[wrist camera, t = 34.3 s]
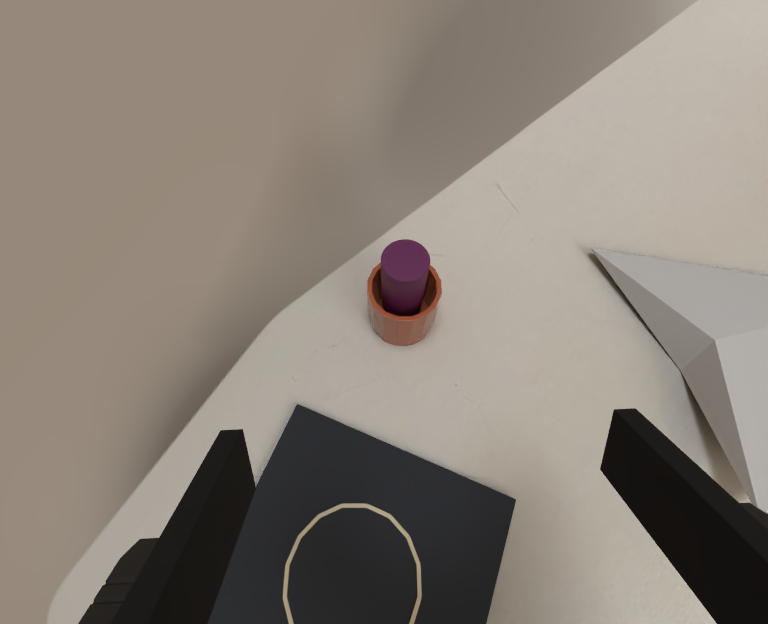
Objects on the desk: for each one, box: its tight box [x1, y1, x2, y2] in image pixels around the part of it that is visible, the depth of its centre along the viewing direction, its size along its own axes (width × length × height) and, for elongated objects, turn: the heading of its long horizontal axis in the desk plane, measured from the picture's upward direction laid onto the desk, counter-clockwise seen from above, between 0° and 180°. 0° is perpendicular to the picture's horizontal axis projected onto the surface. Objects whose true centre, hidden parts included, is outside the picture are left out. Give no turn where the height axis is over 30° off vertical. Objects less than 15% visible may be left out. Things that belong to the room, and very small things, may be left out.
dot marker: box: [381, 240, 430, 316], centre depth 31 cm, size 4×4×10 cm
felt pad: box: [208, 404, 516, 624], centre depth 28 cm, size 20×20×1 cm
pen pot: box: [367, 263, 442, 346], centre depth 34 cm, size 6×6×6 cm
